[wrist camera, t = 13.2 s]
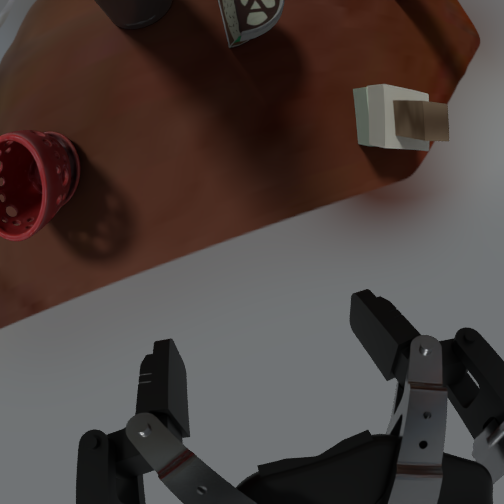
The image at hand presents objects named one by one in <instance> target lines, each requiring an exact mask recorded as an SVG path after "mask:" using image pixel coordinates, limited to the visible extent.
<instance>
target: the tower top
mask: <svg viewBox="0 0 504 504" xmlns="http://www.w3.org/2000/svg"><path fill="white" fill-rule="evenodd" d="M367 91H368V111H369V145H372V146H377V147H382V148H392V149H410V150H423V151H429V141H423V140H418V139H413V138H408V137H402V136H396V135H395V120H394V108H393V100H415V101H428V102H429V96H428V94H426V93H423V92H419V91H414V90H410V89H406V88H401V87H396V86H391V85H386V84H379V85H370V86H367Z"/></svg>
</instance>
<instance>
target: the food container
mask: <svg viewBox="0 0 504 504" xmlns="http://www.w3.org/2000/svg"><path fill="white" fill-rule="evenodd" d="M218 3H219V7H220V11H221V15H222V19H223V23H224V28H225V32H226V36H227V40H228V45H229V48H233V47H238V46H240V45H242V44H244V43H246V42H247V41H249V40H250V39H253V38H256V37H258V36H260V35H262V34H264V33H266V32H267V31H268V30H270V29H271V28H272V27H273V26H274V25H275V24H276V23H277V21H278V20H279V18H280V16H281V14H282V10H283V6H284V0H218Z"/></svg>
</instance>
